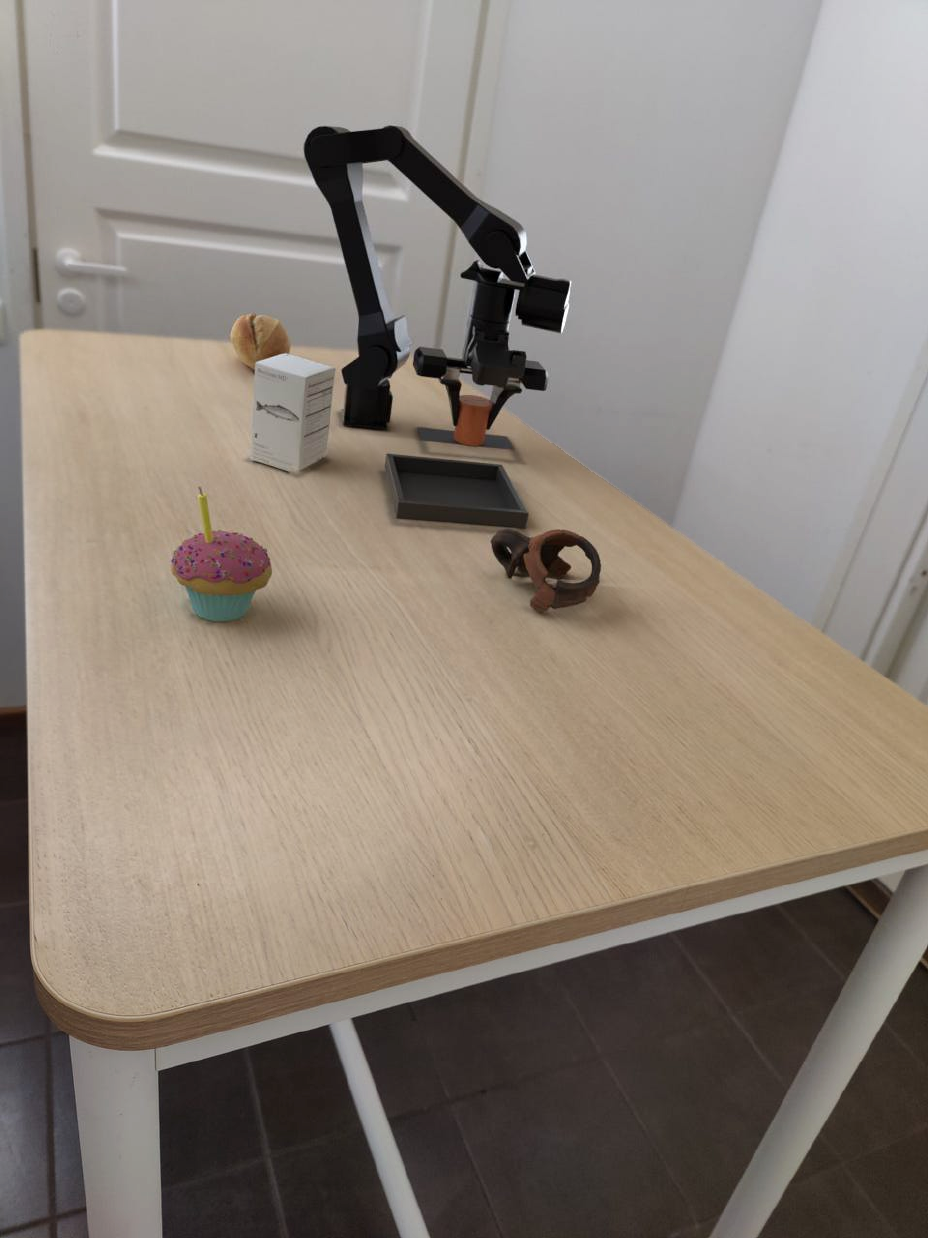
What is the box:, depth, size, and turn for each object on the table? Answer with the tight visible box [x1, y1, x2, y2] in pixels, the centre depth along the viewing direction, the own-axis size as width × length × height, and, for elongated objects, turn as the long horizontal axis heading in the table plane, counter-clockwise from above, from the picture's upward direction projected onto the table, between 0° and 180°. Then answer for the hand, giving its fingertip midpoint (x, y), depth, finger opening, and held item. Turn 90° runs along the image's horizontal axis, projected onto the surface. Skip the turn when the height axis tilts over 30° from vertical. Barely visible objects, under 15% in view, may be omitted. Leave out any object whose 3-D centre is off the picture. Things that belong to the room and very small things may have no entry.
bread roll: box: [230, 313, 291, 371], centre depth 146 cm, size 10×15×8 cm, turn 19°
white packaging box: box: [249, 353, 337, 472], centre depth 110 cm, size 7×7×13 cm
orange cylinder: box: [453, 394, 493, 447], centre depth 128 cm, size 5×5×6 cm
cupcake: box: [171, 485, 273, 623], centre depth 77 cm, size 9×8×12 cm
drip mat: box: [416, 426, 515, 451], centre depth 130 cm, size 14×10×1 cm
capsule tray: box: [384, 453, 529, 530], centre depth 110 cm, size 16×16×3 cm
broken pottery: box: [490, 528, 602, 614], centre depth 91 cm, size 12×10×8 cm
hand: (470, 427), depth 129 cm, fingers closed on orange cylinder, 4 cm apart
